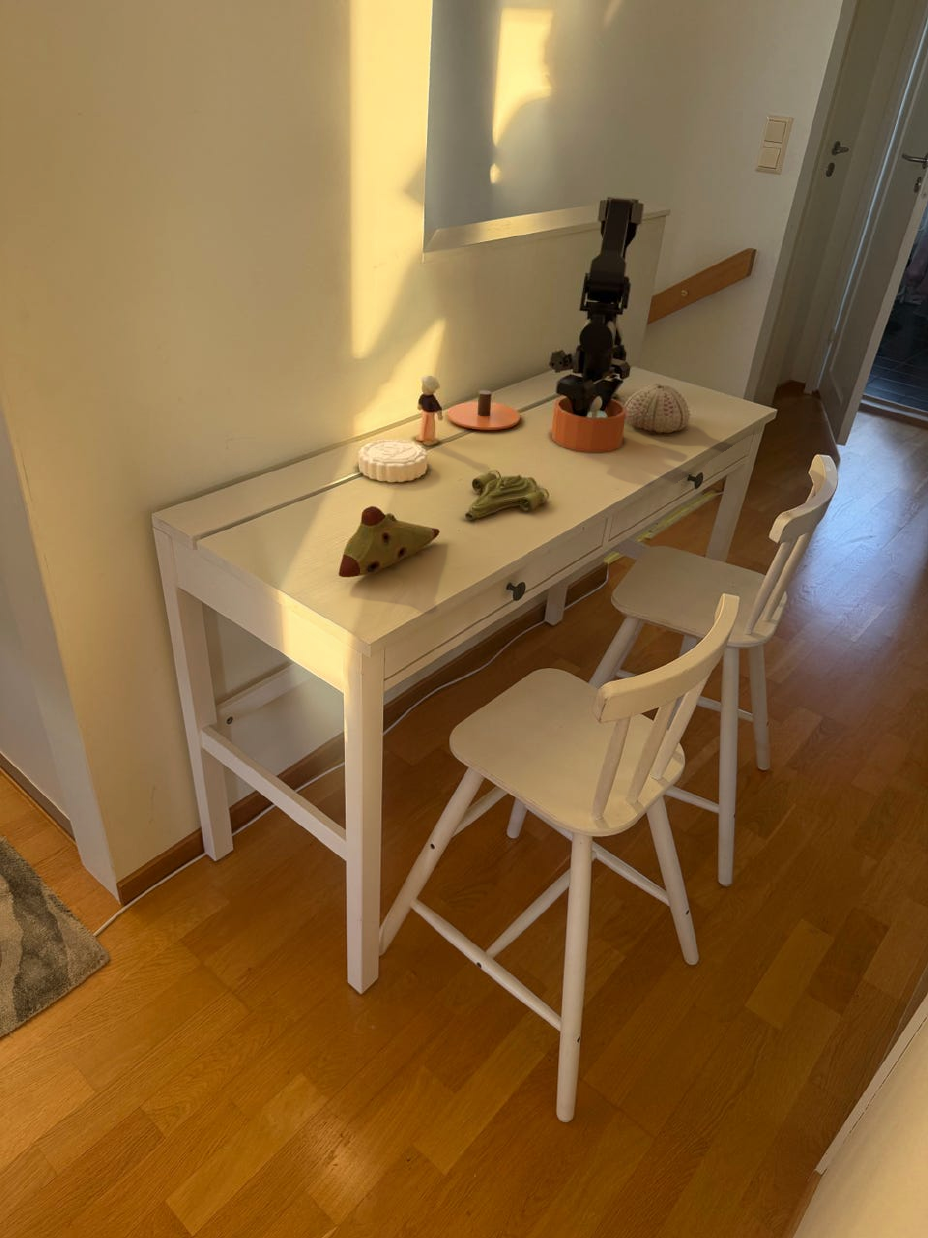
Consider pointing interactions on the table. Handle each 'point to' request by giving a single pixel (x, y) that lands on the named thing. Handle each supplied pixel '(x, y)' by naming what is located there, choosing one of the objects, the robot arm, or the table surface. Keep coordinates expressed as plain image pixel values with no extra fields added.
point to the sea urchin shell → (657, 409)
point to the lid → (483, 414)
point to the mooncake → (392, 460)
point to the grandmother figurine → (428, 410)
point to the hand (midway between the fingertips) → (588, 421)
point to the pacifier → (597, 409)
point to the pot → (588, 427)
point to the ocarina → (382, 543)
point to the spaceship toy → (504, 494)
